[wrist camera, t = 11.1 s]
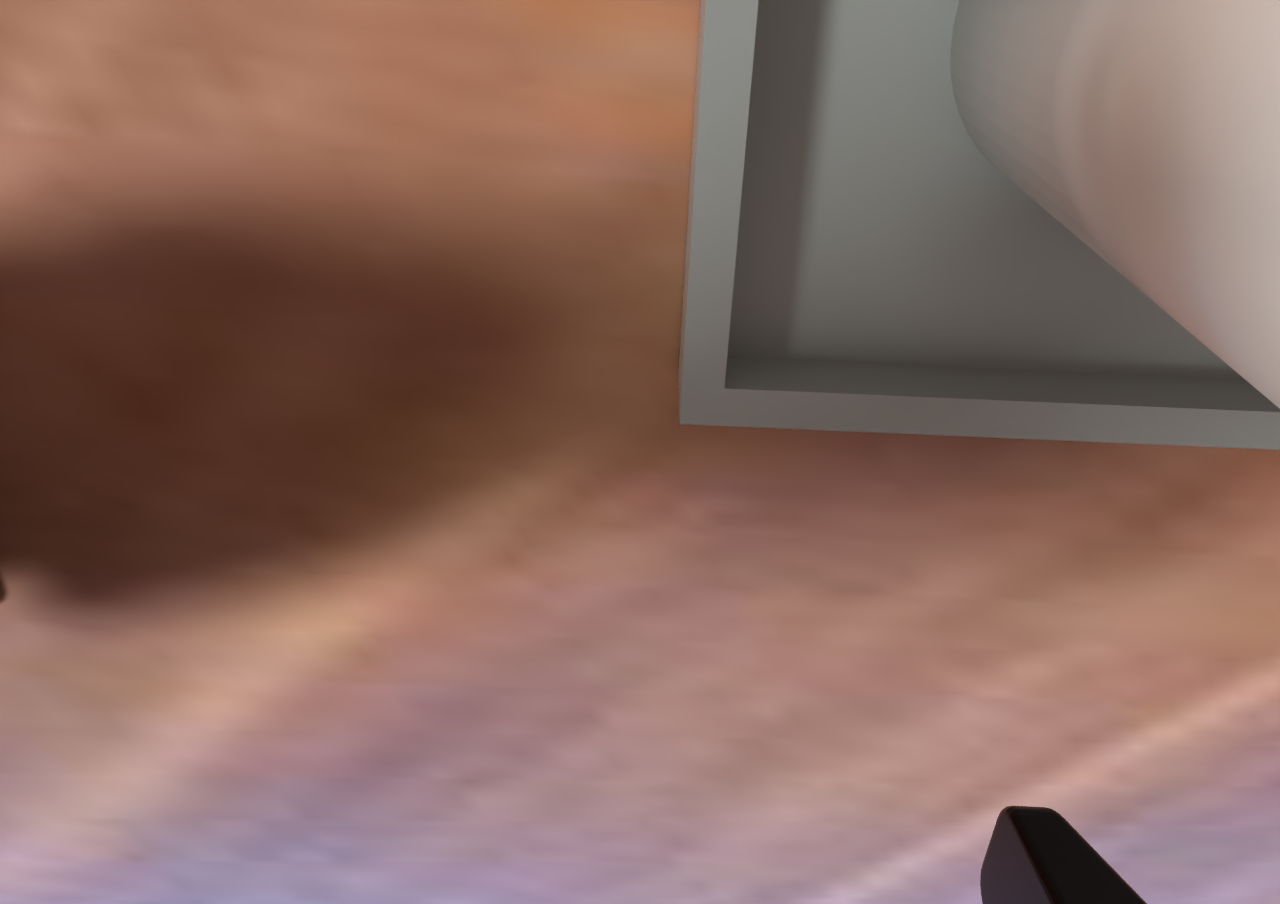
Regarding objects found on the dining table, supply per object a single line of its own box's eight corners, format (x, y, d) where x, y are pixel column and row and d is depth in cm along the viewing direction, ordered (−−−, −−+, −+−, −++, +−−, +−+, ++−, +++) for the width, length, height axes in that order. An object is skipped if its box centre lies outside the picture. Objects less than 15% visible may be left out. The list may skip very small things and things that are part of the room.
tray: (677, 374, 21) (679, 423, 19) (733, -538, 14) (744, -608, 12) (1343, 402, 21) (1412, 455, 19) (1748, -499, 14) (1924, -561, 12)
